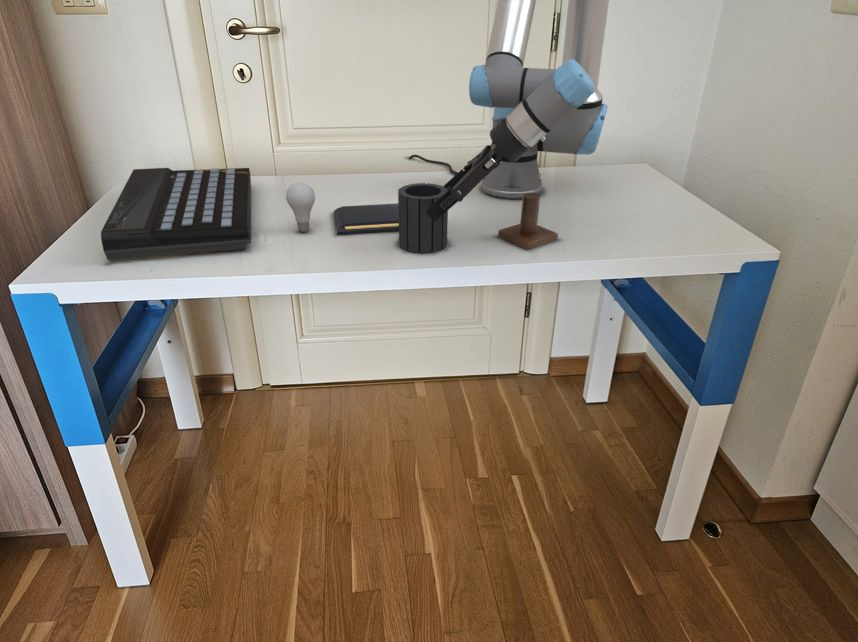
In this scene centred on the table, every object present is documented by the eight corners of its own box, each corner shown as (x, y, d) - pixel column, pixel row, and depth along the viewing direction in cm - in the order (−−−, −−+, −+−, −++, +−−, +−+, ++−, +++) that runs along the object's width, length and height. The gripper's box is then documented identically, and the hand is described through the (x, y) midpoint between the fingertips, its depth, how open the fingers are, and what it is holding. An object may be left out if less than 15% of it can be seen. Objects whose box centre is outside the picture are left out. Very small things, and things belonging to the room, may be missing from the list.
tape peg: (497, 236, 141) (500, 194, 136) (527, 227, 146) (531, 186, 141) (527, 249, 135) (531, 205, 130) (557, 239, 140) (562, 196, 135)
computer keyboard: (252, 253, 133) (247, 222, 130) (107, 265, 128) (98, 233, 125) (252, 186, 171) (248, 160, 167) (139, 193, 166) (133, 167, 162)
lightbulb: (295, 239, 140) (289, 189, 134) (286, 229, 145) (280, 180, 139) (322, 234, 142) (317, 184, 137) (312, 225, 147) (308, 177, 141)
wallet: (417, 199, 156) (426, 222, 143) (417, 207, 157) (425, 230, 144) (333, 203, 154) (334, 226, 141) (333, 211, 155) (335, 235, 142)
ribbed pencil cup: (390, 241, 139) (388, 189, 133) (427, 231, 144) (427, 180, 138) (418, 257, 132) (418, 202, 126) (456, 245, 137) (457, 192, 131)
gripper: (524, 166, 112) (437, 240, 123) (535, 133, 133) (460, 199, 144) (495, 133, 110) (410, 211, 121) (511, 104, 131) (437, 173, 142)
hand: (437, 205), depth 132 cm, fingers open, 13 cm apart
